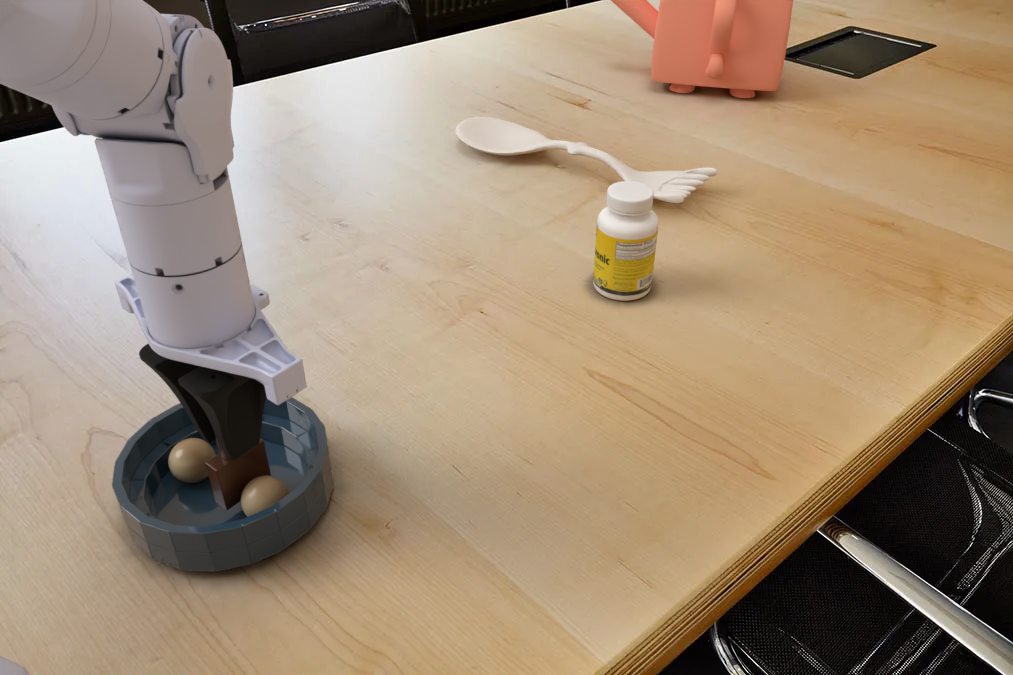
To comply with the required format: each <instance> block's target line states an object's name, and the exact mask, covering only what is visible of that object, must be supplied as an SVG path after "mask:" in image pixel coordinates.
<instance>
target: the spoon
mask: <svg viewBox="0 0 1013 675" xmlns="http://www.w3.org/2000/svg"><path fill="white" fill-rule="evenodd" d="M455 134H456V135H457V137H458V138H459V140H460V141H462V142H463V143H464V144H465V145H467V146H468V147H470V148H472V149H474V150H476V151H478V152H479V151H480V152H482V153H484V154H485V153H486V154H489V155H495V156H504V157H505V156H519V155H527V154H532V153H537V152H542V151H548V150H561V151H566V152H567V153H568V154H569V155H571V156H580V157H587V158H591V159H594V160H596V161H599V162H601V163H604V164H605V165H606V166H608V167H609V168H611V169H612V170H613V171H614V172H615V173H616V174H617V175H618V176H619V177H620V178H621V180H622V181H635V182H640V183H643V184H646V185H648V186H649V187H651V188H652V190H653V192H654V196H653V200H658V201H661V202H666V203H670V204H682V203H683V202H684V201H685V199H687V197H689V196H691V193H692V192H695V191H696V190H697V188H696V187H700V186H703V185H705V182H706V181H709V180H710V179H711V178H710V177H716V176H717V175H718V170H717V169H716V168H714V167H710V166H706V167H705V166H704V167H696V168H691V169H685V170H653V171H644V170H643V171H641V170H637V169H634V168H632V167H630V166H629V165H626V164H625V163H624V162H623V161H621V160H619V159H618V158H617V157H615V156H614V155H612V154H610V153H608V152H606V151H604V150H601V149H597V148H595V147H592V146H589V145H588V144H587V143H586V142H584V141H577V142H576V141H569V140H561V139H550V138H549V137H547V136H546V135H543V134H542V133H541V132H539V131H537V130H534V129H531V128H528V127H526V126H524V125H521V124H518V123H515V122H512V121H509V120H506V119H502V118H496V117H492V116H471V117H468V118H467V117H466V118H465V119H463V120H461V121H460V122H459V123H458V124H457V126H456V127H455Z"/></svg>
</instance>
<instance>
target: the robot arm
mask: <svg viewBox="0 0 1013 675" xmlns="http://www.w3.org/2000/svg"><path fill="white" fill-rule="evenodd" d="M0 85H3V86H5V87H7V88H9V89H11V90H14V91H17V92H19V93H21V94H24V95H26V96H28V97H31V98H33V99H35V100H38V101H41V102H43V103H45V104H47V105H50V106H51V107H52V109H53V113H54V114H55V116H56V117H57V119H58V121H59V123H60V124H61V125H62V127H64V129H65V130H66V131H67V132H68V133H69V134H71V136H73V137H78V136H80V135H82V136H92V137H94V138H95V139H94V144H95V149H96V151H97V152H96V153H97V155H98V158H99V162H100V165H101V168H102V169H101V170H102V173H103V175H104V179H105V183H106V187H107V190H108V193H109V197H110V200H111V204H112V208H113V211H114V214H115V218H116V221H117V224H118V228H119V232H120V235H121V239H122V243H123V245H124V250H125V253H126V256H127V259H128V263H129V266H130V270H131V273H132V274H129V275H127V276H125V277H123V278H120V279H118V280H116V281H115V282H114V285H115V289H116V292H117V295H118V298H119V302H120V305H121V309H122V310H124V311H126V312H128V314H134V316H135V318H136V320H137V322H138V324H139V327H140V329H141V331H142V333H143V335H144V337H145V339H146V342H147V344H145V345H144V346H143V347H141V348H140V350H139V352H138V354H139V359H140V360H141V361H142V362H143V363H144V364H146V365H147V366H148V367H149V368H150V369H152V371H153V372H155V373H156V375H157V376H158V377H160V378H161V380H162V381H163V382H164V383H165V385H167V386H168V388H169V390H170V391H171V392H172V393H173V394H174V396H175V397H176V399H177V400H178V401H179V403H181V405H182V406H183V408H184V409H185V411H186V413H187V414H188V416H189V418H190V419H191V421H192V423H193V424H194V426H195V428H196V429H197V431H198V432H199V434H200V435H201V436H202V437H203V439H205V440H206V441H207V442H209V443H211V442H212V441H214V440H215V439H216V437H217V440H218V442H219V444H220V446H221V448H222V449H223V451H224V452H225V453H226V455H227V456H229V457H230V458H232V459H236V458H238V457H239V456H241V455H242V454H244V453H245V452H247V451H249V450H250V449H252V448H253V447H255V446H256V445H258V444H259V442H260V435H261V426H262V418H263V411H264V405H265V401H266V397H267V399H268V400H270V401H271V402H273V403H275V404H276V405H280V404H281V403H283V402H284V401H286V400H288V399H290V398H291V397H293V398H294V397H295V396H296V395H298V393H300V392H303V390H305V389H306V388H307V387H308V385H307V378H306V374H305V367H304V361H303V360H304V359H302V358H301V357H299V356H298V355H297V354H295V353H293V352H292V351H291V350H290V349H289V348H288V347H287V346H286V344H285V342H283V340H282V338H280V336H279V335H278V332H277V331H276V330H275V329H274V327H273V325H272V324H271V323H270V322H269V320H268V318H267V317H266V315H265V314H264V313H263V311H262V310H264V309H265V308H267V307H268V306H269V305H270V303H271V300H270V296H269V293H268V292H267V291H265V290H263V289H261V288H260V287H258V286H255V285H253V284H251V282H250V277H249V272H248V267H247V262H246V257H245V252H244V248H243V246H244V245H243V240H242V236H241V230H240V224H239V220H238V216H237V210H236V205H235V199H234V195H233V189H232V184H231V179H230V174H229V169H228V166H229V164H230V163H231V162H232V161H233V160H234V148H235V142H234V136H233V135H234V134H233V129H232V107H233V97H234V78H233V67H232V62H231V59H228V56H227V52H226V50H225V47H224V45H223V43H222V40H221V38H220V37H219V36H218V35H217V33H215V31H213V30H212V29H210V28H207V27H204V25H203V24H202V22H200V21H199V20H198V18H196V17H194V16H192V15H189V14H175V13H173V14H171V13H160V12H159V11H158V10H156V8H154V7H152V6H151V5H150V4H148V3H147V2H146V1H144V0H0ZM214 432H215V433H214ZM215 435H216V437H215ZM0 675H30V673H29V672H28V671H27V669H26V668H25V667H24V666H22V665H20V664H19V663H17V662H15V661H12V660H10V659H8V658H5V657H3V656H1V655H0Z"/></svg>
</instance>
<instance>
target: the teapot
mask: <svg viewBox="0 0 1013 675" xmlns="http://www.w3.org/2000/svg"><path fill="white" fill-rule="evenodd" d="M610 1H611V2H612V3H613V4H614V5H615V6H616V7H617V8H618V9H620V10H621V11H622V12H623V13H624V14H625V15H626V16H627V17H628V18H630V20H632V21H633V23H635V24H636V25H637V26H639V28H641V29H642V30H643V32H645V33H647V35H648V36H650V37H651V38H652V39H653V44H652V54H651V62H650V63H651V64H650V66H651V68H650V70H651V71H650V78H651V82H656V83H664V84H670V86H669V90H670V91H672V92H674V93H678V94H689V93H693V92H694V91H695V89H696V87H707V88H708V87H709V88H720V89H729V94H730V95H731V96H733V97H735V98H740V99H751V98H754V97H755V96H756V92H755V91H764V92H777V90H778V87H779V84H780V80H781V78H782V74H783V70H784V64H785V61H786V60H785V59H786V53H787V48H788V42H789V41H788V40H789V34H790V28H791V20H792V12H793V6H794V0H659V5H658V9H657V8H656V7H654V5H652V4H651V2H649V1H648V0H610Z"/></svg>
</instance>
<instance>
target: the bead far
mask: <svg viewBox="0 0 1013 675" xmlns="http://www.w3.org/2000/svg"><path fill="white" fill-rule="evenodd" d="M215 456H216V454H215V451H214V449H213V448H212V446H211V445H210V444H209V443H208V442H206V441H204V440H202V439H199V438H188V439H184V440H182V441H180V442H179V443H177V444H176V445H175V446H174V447H173V449H172V450H171V452H170V455H169V459H168V464H169V469H170V471H171V473H172V474H173V475H174V477H176V478H177V479H178V480H180V481H182V482H185V483H197V482H200V481H203V480H204V479H206V478H207V477H208V476H209V475H208V471H207V468H206V464H205V463H206V462H207V461H209V460H210V459H212V458H213V457H215Z"/></svg>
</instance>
